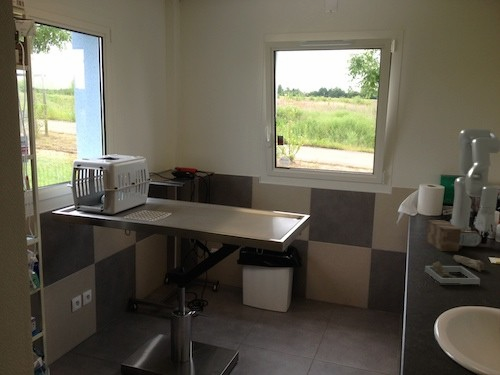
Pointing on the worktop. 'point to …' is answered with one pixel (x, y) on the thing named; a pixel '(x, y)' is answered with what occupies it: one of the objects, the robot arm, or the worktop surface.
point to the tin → (470, 238)
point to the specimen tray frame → (470, 280)
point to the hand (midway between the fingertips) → (482, 243)
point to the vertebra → (441, 270)
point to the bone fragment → (470, 262)
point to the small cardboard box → (443, 235)
